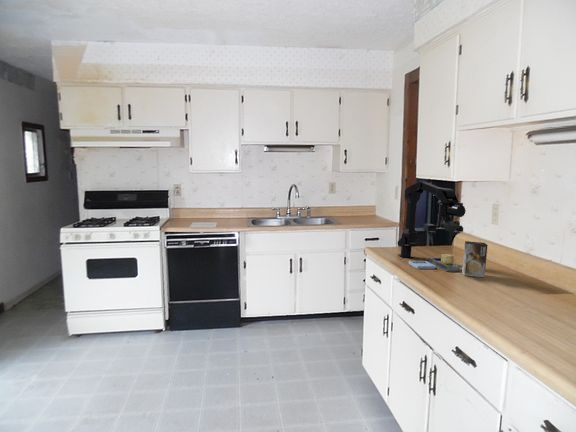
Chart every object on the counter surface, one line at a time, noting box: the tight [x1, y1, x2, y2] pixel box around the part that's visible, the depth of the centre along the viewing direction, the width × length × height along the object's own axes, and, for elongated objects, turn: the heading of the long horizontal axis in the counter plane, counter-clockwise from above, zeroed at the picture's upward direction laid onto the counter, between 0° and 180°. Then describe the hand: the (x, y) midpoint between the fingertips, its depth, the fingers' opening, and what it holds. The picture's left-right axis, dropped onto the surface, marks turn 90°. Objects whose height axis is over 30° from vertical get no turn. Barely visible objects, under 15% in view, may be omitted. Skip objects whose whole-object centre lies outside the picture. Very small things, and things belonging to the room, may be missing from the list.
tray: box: [408, 260, 437, 270], centre depth 204 cm, size 10×10×2 cm
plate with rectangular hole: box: [427, 257, 461, 273], centre depth 205 cm, size 18×7×2 cm, turn 9°
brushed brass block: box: [440, 253, 454, 265], centre depth 202 cm, size 4×4×7 cm
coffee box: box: [461, 240, 488, 278], centre depth 191 cm, size 9×6×16 cm
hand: (441, 244), depth 198 cm, fingers open, 9 cm apart
